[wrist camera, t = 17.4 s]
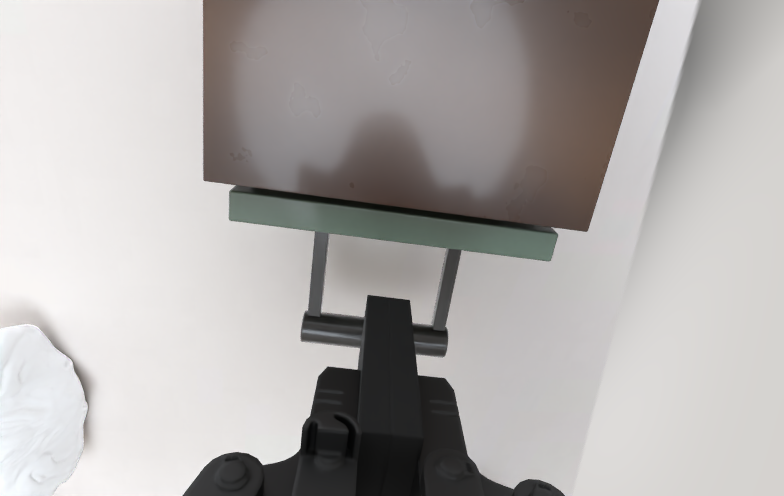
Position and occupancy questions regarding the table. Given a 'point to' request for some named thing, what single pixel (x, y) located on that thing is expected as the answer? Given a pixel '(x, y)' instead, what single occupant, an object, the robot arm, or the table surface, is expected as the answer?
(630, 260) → the table surface
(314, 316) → the drawer
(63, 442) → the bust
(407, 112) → the cabinet
